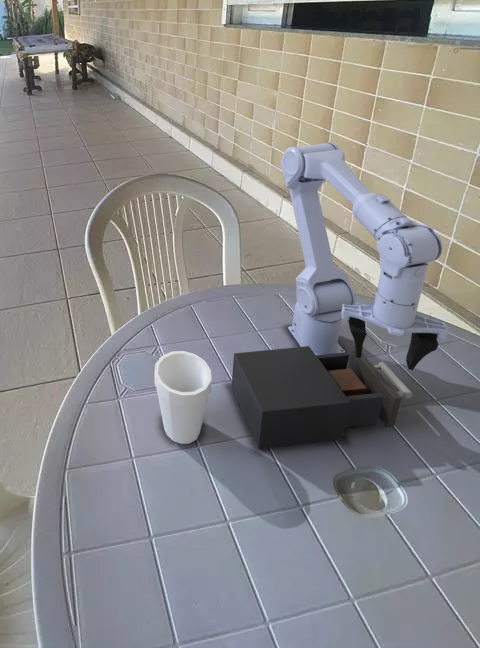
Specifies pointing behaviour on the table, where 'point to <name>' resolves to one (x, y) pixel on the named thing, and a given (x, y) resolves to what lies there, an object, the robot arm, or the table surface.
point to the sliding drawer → (369, 389)
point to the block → (348, 382)
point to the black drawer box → (288, 397)
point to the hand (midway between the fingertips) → (383, 359)
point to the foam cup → (182, 394)
